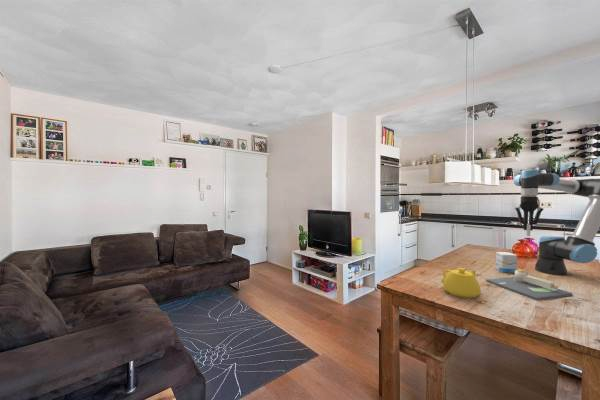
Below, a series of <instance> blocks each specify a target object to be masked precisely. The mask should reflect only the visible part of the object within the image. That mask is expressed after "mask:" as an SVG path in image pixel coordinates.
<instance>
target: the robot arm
mask: <svg viewBox="0 0 600 400" xmlns="http://www.w3.org/2000/svg"><path fill="white" fill-rule="evenodd" d="M513 184H514V185H515V186H517V187H520V204H519V205H518V206H517V207H516V206H515V207H514V210H515V211H516V214H517V217H518V221H519V223H520V224H522V225H523V230H524V231H525V234H524V235H525V236H526V237H531V231H533V228H534V225H537V224H538V222H539V221H540V220H539V219H540V216H541V214H542V212H543V211H544V209H545V208H543V207H540V206H539V204H538V199H539V197H538V195H539V189H545V190H549V191H550V190H551V191H559V192H564V193H565V194H568V195H574V196H580V197H584V198H585V197H586V198H588V200H589V201H588V203H587V205H586V207H585V209H584V211H583V213H582V215H581V217H580V219H579V221H578V223H577V225H576V227H575V229H574V231H573V233H572V234H571V235H568V236H567V237H566V238H565V236H554V235H553V236H552V235H550V236H549V235H548V236H544V235H543V236H541V237H539V242H538V258H537V261H536V263H535V265H534V270H535V271H538V272H540V273H541V272H542V273H546V274H550V275H557V276H566V275H568V269H567V267H566V264H565V260H567V261H570V262H574V263H579V264H588V263H591V262H592V261H594V260H595V259H596V258H597V255H598V252H597V251H598V248H597V247H596V246H595V245H596V243H595V242H594V239H595V237H596V236H597V234H598V231H599V229H600V178H585V179H575V178H572V179H571V178H570V179H562V178H560V176H559V174H557V173H552V172H541V173H540V172H539V169H523V170H522V171H521V174H518V175H515V177H514V178H513ZM521 210H522V212H523V217H522V212H521ZM535 211H536V213H535ZM534 213H535V216H534Z"/></svg>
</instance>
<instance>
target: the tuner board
mask: <svg viewBox="0 0 600 400" xmlns="http://www.w3.org/2000/svg"><path fill="white" fill-rule="evenodd" d="M485 281H486V283H489V284H492V285H495V286H497V287H500V288H502V289H505V290H508V291H511V292H513V293H516V294H519V295H522V296H524V297H526V296H527V297H526V298H528V299H529V298H530V299H531V300H535V301H540V300H541V301H542V300H547V299H548V300H549V299H555V298H556V299H557V298H564V297H571V296H573V292H570V291H567V290H563V289H561V288H555V287H554V288H552V289H549V288H546V287H542V286H539V285H536V284H532V283H529V282H520V281H516V280H515V276H508V277H507V276H506V277H496V278H489V279H486V280H485Z"/></svg>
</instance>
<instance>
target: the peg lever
mask: <svg viewBox="0 0 600 400" xmlns="http://www.w3.org/2000/svg"><path fill="white" fill-rule="evenodd" d="M514 277H515V280H516V281H520V282H529V283H532V284H536V285H539V286H542V287H546V288H549V289H552V288H557V289H559V286H558V285H555V282H553V281H549V280H548V279H547V280H546V279H543V278H540V277H535V276H532V275H529V274H527V271H526V270H523V269H518V268H517V270H515V273H514Z"/></svg>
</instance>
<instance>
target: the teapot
mask: <svg viewBox="0 0 600 400" xmlns="http://www.w3.org/2000/svg"><path fill="white" fill-rule="evenodd" d="M447 272H448V273H447ZM446 273H447V274H446ZM442 276H443V278H441V283H442V286H443V288H444V290H445V291H446V292H447V293H448V294H450V295H452V296H454V297H458V298H463V299H473V298H477V297H478V296H479V295H480V294H481V290H482V289H481V286H480V283H479V281H478V280H477V278H476V270H475V269H474V270H473V269H472V270H470V271H467V269H466V268H463V267H458V268H457V269H452V270H451V269H449V268H447V269H444V270H443V271H442Z"/></svg>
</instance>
